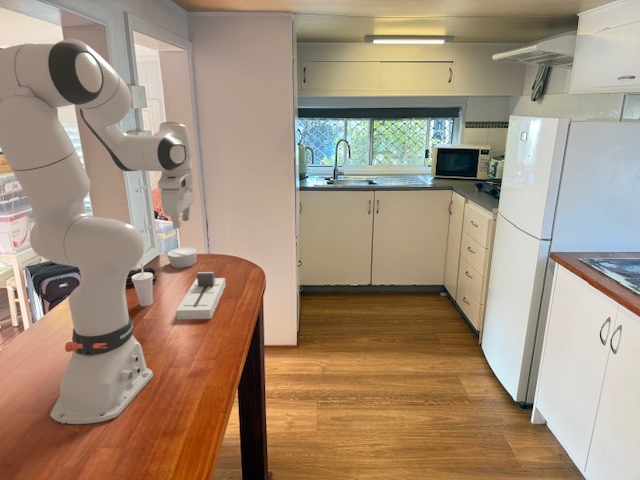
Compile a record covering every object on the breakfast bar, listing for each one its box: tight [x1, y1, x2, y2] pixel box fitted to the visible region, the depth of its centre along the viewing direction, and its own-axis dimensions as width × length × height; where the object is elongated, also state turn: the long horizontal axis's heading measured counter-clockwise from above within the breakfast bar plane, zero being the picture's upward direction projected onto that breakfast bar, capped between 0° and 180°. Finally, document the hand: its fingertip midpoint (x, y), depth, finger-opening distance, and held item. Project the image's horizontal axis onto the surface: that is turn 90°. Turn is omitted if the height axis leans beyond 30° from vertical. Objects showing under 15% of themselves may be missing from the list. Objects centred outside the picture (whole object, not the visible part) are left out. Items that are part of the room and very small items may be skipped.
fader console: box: [175, 277, 226, 320], centre depth 139 cm, size 24×10×3 cm, turn 1°
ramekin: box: [167, 246, 198, 269], centre depth 171 cm, size 11×11×5 cm
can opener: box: [126, 266, 157, 285], centre depth 152 cm, size 18×7×6 cm, turn 112°
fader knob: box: [196, 270, 216, 286], centre depth 143 cm, size 3×5×4 cm, turn 92°
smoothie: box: [132, 261, 153, 307], centre depth 136 cm, size 6×6×14 cm
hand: (181, 224), depth 132 cm, fingers open, 8 cm apart
